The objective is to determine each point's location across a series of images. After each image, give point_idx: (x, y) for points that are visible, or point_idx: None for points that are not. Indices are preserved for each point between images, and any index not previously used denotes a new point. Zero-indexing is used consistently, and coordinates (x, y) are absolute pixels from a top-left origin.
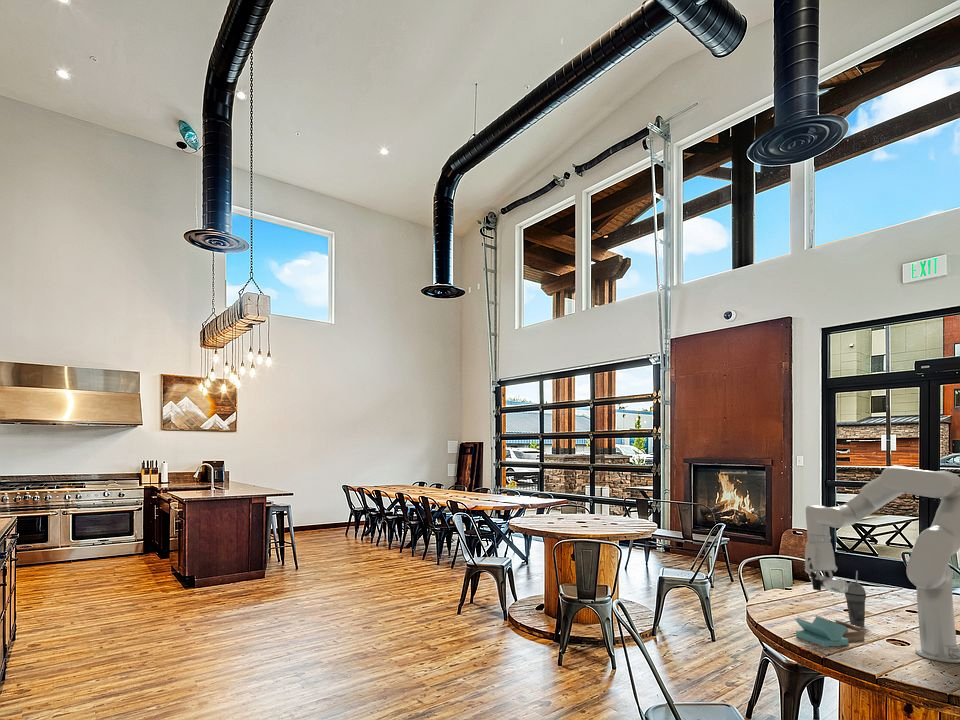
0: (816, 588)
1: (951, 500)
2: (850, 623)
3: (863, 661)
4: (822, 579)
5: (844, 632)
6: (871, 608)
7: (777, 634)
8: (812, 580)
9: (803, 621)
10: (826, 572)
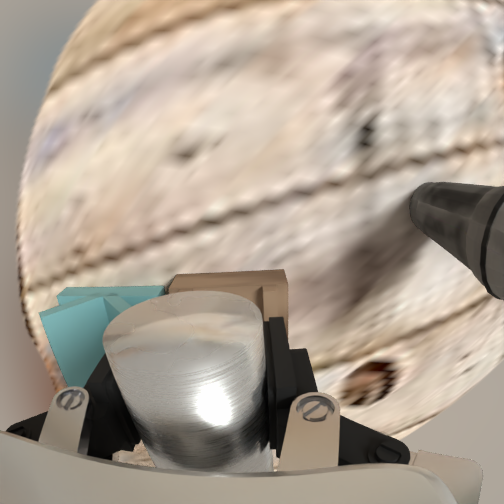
0: None
1: None
2: (415, 191)
3: (142, 452)
4: (153, 462)
5: None
6: None
7: (24, 253)
8: (97, 366)
9: (51, 346)
10: (318, 459)
